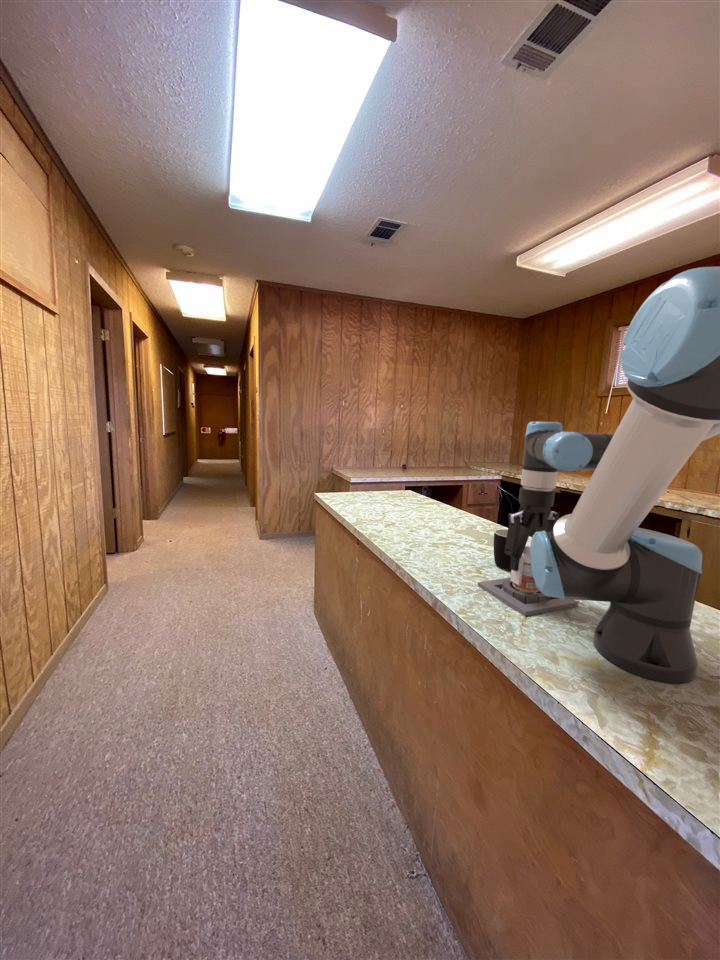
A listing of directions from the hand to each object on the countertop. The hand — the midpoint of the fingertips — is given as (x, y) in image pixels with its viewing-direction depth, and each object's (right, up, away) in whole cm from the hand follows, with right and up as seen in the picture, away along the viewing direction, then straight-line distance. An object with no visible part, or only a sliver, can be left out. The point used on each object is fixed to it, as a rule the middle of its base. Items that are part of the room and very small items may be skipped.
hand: (526, 580), depth 92 cm
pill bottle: (0, -2, 0) cm, 2 cm away
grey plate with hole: (0, -4, 0) cm, 4 cm away
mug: (+3, -1, +21) cm, 21 cm away
